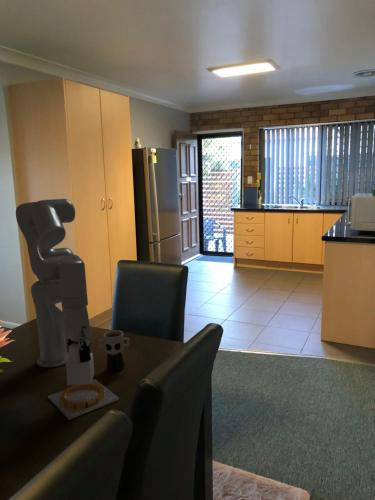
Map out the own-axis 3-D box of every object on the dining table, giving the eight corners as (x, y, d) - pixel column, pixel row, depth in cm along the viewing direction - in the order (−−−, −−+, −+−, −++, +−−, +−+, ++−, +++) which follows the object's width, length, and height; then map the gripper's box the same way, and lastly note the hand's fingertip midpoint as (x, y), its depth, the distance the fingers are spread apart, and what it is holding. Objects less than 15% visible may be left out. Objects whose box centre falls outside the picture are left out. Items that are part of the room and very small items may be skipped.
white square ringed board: (48, 398, 129) (47, 392, 129) (95, 381, 139) (94, 375, 138) (68, 420, 117) (68, 413, 116) (118, 399, 126) (118, 393, 126)
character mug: (98, 373, 144) (96, 338, 142) (101, 364, 151) (99, 331, 149) (130, 371, 145) (128, 336, 143) (131, 363, 152) (129, 329, 150)
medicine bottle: (71, 375, 130) (68, 338, 128) (94, 373, 130) (92, 337, 129) (66, 386, 123) (63, 347, 121) (91, 384, 123) (88, 346, 121)
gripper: (51, 297, 127) (56, 351, 130) (74, 310, 113) (80, 370, 116) (74, 292, 131) (79, 345, 134) (99, 304, 118) (104, 362, 121)
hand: (79, 356), depth 125 cm, fingers closed on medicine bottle, 7 cm apart
